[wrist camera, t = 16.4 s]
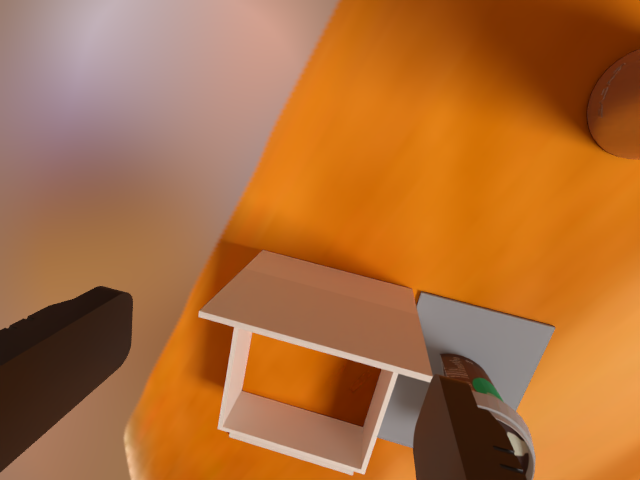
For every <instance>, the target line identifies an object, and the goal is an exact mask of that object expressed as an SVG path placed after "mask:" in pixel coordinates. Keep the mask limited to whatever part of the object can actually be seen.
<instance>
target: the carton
mask: <svg viewBox="0 0 640 480" xmlns="http://www.w3.org/2000/svg"><path fill="white" fill-rule="evenodd" d="M198 317H201V318H204V319H208V320H211V321H215V322H218V323H222V324H225V325H229V326H232V327H234V331H233V337H232V344H231V350H230V356H229V362H228V368H227V374H226V380H225V387H224V393H223V399H222V405H221V411H220V417H219V423H218V429H220V430H223V431H226V432H230V434H229V437H231V438H234V439H237V440H241V441H244V442H247V443H250V444H253V445H257V446H260V447H263V448H266V449H269V450H273V451H276V452H279V453H282V454H285V455H289V456H292V457H295V458H298V459H301V460H305V461H308V462H311V463H314V464H317V465H321V466H324V467H327V468H330V469H333V470H337V471H340V472H343V473H346V474H350V475H353V472H354V471H355V472H358V473H361V474H365V471H366V468H367V465H368V462H369V459H370V456H371V453H372V450H373V447H374V444H375V441H376V438H377V436H378V433H379V430H380V427H381V424H382V421H383V418H384V415H385V412H386V409H387V406H388V403H389V400H390V397H391V394H392V391H393V388H394V385H395V382H396V379H397V376H398V374H402V375H405V376H409V377H412V378H416V379H419V380H423V381H426V382H431V379H432V377H433V375H432V371H431V366H430V362H429V358H428V354H427V349H426V345H425V341H424V337H423V333H422V328H421V324H420V320H419V316H418V312H417V307H416V303H415V299H414V295H413V291H412V289H410V288H407V287H403V286H399V285H395V284H391V283H388V282H384V281H380V280H376V279H372V278H368V277H365V276H361V275H357V274H353V273H349V272H345V271H342V270H338V269H334V268H330V267H326V266H323V265H319V264H315V263H311V262H307V261H303V260H300V259H296V258H292V257H288V256H284V255H281V254H277V253H273V252H269V251H265V250H262V251H261V252H260V253H259V254H258V255H257V256H256V257H255V258H254V259H253V260H252V261H251V262H250V263H249V264H248V265H247V266H246V267H244V268H243V269H242V270H241V271H240V272H239V273H238V274H237V275H236V276H235V277H234V278H233V279H232V280H231V281H230V282H229V283H228V284H227V285H226V286H225V287H224V288H223V289H222V290H220V291H219V292H218V293H217V294H216V295H215V296H214V297H213V298H212V299H211V300H210V301H209V302H208V303H207V304H206V305H205V306H204V307H203V308H202V309H201V310H200V311H199V316H198ZM252 332H253V333H257V334H261V335H264V336H268V337H271V338H275V339H278V340H282V341H285V342H289V343H292V344H296V345H299V346H303V347H306V348H310V349H313V350H317V351H320V352H324V353H328V354H331V355H335V356H338V357H342V358H345V359H349V360H352V361H356V362H359V363H363V364H366V365H370V366H373V367H377V368H380V369H381V373H380V376H379V379H378V382H377V385H376V388H375V391H374V394H373V398H372V401H371V404H370V407H369V410H368V413H367V416H366V419H365V423H364V426H363V427H361V426H358V425H354V424H351V423H348V422H344V421H341V420H338V419H334V418H331V417H328V416H324V415H321V414H318V413H314V412H311V411H308V410H304V409H301V408H298V407H294V406H291V405H288V404H284V403H281V402H277V401H274V400H271V399H267V398H264V397H261V396H257V395H254V394H251V393H247V392H244V391H242V387H243V381H244V376H245V370H246V364H247V359H248V353H249V348H250V342H251V337H252Z"/></svg>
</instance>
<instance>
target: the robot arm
mask: <svg viewBox="0 0 640 480" xmlns="http://www.w3.org/2000/svg"><path fill="white" fill-rule="evenodd" d="M587 120H588V127H589V130H590V132H591V134H592V137H593V138H594V140H595V141H596V142H597V144H598V145H599V146H600V147H602V148H603V149H604V150H605V151H607V152H609V153H611V154H613V155H615V156H618V157H623V158H627V159H640V49H638V50H636V51H634V52H631V53H629V54H627V55H626V56H624V57H623V58H621V59H619V60H618V61H616V62H615V63H614V64H613V65H612V66H611V67H610V68H609V69H608V70H606V72H605V73H604V74H603V75H602V77H601V78H600V79H599V80H598V82H597V84H596V86H595V88H594V89H593V91H592V93H591V97H590V100H589V103H588V111H587ZM132 311H133V299H132V296H131V295H130V294H129V293H127V292H123V291H119V290H114V289H111V288H107V287H103V286H99V287H96V288H94V289H92V290H90V291H88V292H86V293H84V294H82V295H80V296H78V297H76V298H74V299H72V300H68V301H65V302H61V303H57V304H54V305H50V306H48V307H46V308H44V309H42V310H40V311H38V312H36V313H34V314H32V315H30V316H28V318H27V319H22V320H20V321H18V322H16V323H14V324H12V325H10V327H9V328H8V329H7V328H4V329H2V330H0V472H1V471H2V470H4V469H5V468H6V467H7V466H8V465H9V464H10V463H12V461H14V460H15V459H16V458H17V457H18V456H20V454H22V453H23V452H24V451H25V450H26V449H27V448H29V447H30V446H31V445H32V444H33V443H34V442H35V441H37V440H38V439H39V438H40V437H41V436H42V435H43V434H45V433H46V432H47V431H48V430H49V429H50V428H51V427H52V426H54V425H55V424H56V423H57V422H58V421H59V420H60V419H61V418H63V417H64V416H65V415H66V414H67V413H68V412H69V411H71V410H72V409H73V408H74V407H75V406H76V405H77V404H79V403H80V402H81V401H82V400H83V399H84V398H85V397H86V396H87V395H89V394H90V393H91V392H92V391H93V390H94V389H95V388H97V387H98V386H99V385H100V384H101V383H102V382H103V381H105V380H106V379H107V378H108V377H109V376H110V375H111V374H113V373H114V372H115V371H116V370H117V369H118V368H119V367H120V366H121V365H122V364H123V362H124V361H125V359H126V358H127V356H128V353H129V350H130V347H131V336H132ZM413 453H414V462H415V470H416V479H417V480H527V478H526V476H525V475H523V469H522V467H521V464H520V462H519V460H518V458H517V456H515V454H514V453H515V451H514V449H513V446H512V444H511V442H510V440H509V437H508V435H507V433H506V431H505V429H504V428H503V427H502V426H501V425H500V423H499V422H498V421H497V420H496V419H495V418H494V416H493V415H492V414H491V413H490V412H489V410H485V409H482V408H478V406H477V403H476V401H475V398H474V395H473V393H472V390H471V388H470V385H469V384H468V383H467V382H465V381H461V380H457V379H454V378H450V377H446V376H442V375H438V374H435V375H434V376H433V377H432V379H431V382H430V385H429V387H428V390H427V393H426V396H425V399H424V402H423V405H422V408H421V411H420V414H419V416H418V419H417V422H416V426H415V431H414V438H413Z"/></svg>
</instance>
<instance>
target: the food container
mask: <svg viewBox="0 0 640 480" xmlns="http://www.w3.org/2000/svg"><path fill="white" fill-rule="evenodd" d="M440 359H441V365H442V372H443V376H446V377H450V378H454V379H457V380H461V381H465V382H467V383H468V384H469V385H470V388H471V390H472V393H473V395H474V398H475V401H476V403H477V406H478V408H482V409H485V410H489V412H490V413H491V414H492V415H493V416H494V418H495V419H496V420H497V421H498V422H499V423H500V425H501V426H502V427H503V428H504V429H505V431H506V433H507V435H508V437H509V440H510V442H511V444H512V446H513V449H514V451H515V453H514V454H515V456H517V458H518V460H519V462H520V464H521V467H522V469H523V475H525V476H526V478H527V480H533V476H534V472H535V453H534V447H533V443H532V438H531V434H530V432H529V429H528V427H527V425H526V424H525V422H524V421H523V419H522V418H521V417H520V415H519V414H518V413H517V412H516V411H515V410H514V409H512V408H511V407H510V406H508V405H507V404H506V403H504V401H503V400H502V398H501V396H500V395H499V393H498V392H497V390H496V388H495V387H494V385H493V383H492V382H491V380H490V378H489V377H488V375H487V374H486V372H485V371H484V369H483V368H482V367H481V366H480V365H478V364H477V363H476V362H474V361H473V360H471V359H469V358H466V357H464V356H461V355H456V354H448V353H446V354H440Z"/></svg>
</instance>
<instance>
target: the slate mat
mask: <svg viewBox="0 0 640 480" xmlns="http://www.w3.org/2000/svg"><path fill="white" fill-rule="evenodd" d="M416 307H417V312H418V316H419V320H420V324H421V328H422V333H423V337H424V341H425V345H426V349H427V354H428V358H429V362H430V366H431V371H432V375H433V376H434V375H435V374H438V375H442V376H443V372H442V365H441V359H440V354H446V353H448V354H456V355H461V356H464V357H466V358H469V359H471V360H473V361H474V362H476V363H477V364H478V365H480V366H481V367H482V368H483V369H484V371H485V372H486V374H487V375H488V377H489V378H490V380H491V382H492V383H493V385H494V387H495V388H496V390H497V392H498V393H499V395H500V396H501V398H502V400H503V401H504V403H506V404H507V405H508V406H510V407H511V408H512V409H514V410H515V411H516V410H517V408H518V405H519V403H520V401H521V399H522V397H523V395H524V393H525V391H526V389H527V387H528V384H529V382H530V380H531V378H532V376H533V374H534V372H535V370H536V368H537V366H538V363H539V361H540V359H541V357H542V355H543V353H544V351H545V349H546V347H547V345H548V342H549V340H550V338H551V336H552V334H553V332H554V330H555V327H554V326H552V325H548V324H544V323H540V322H537V321H533V320H529V319H525V318H521V317H517V316H514V315H510V314H506V313H502V312H498V311H494V310H491V309H487V308H483V307H479V306H475V305H472V304H468V303H464V302H460V301H456V300H452V299H449V298H445V297H441V296H437V295H433V294H430V293H426V292H422V291H421V294H420V297H419V300H418V303H417V306H416ZM429 385H430V382H426V381H423V380H419V379H416V378H412V377H409V376H405V375H402V374H398V376H397V379H396V382H395V385H394V388H393V391H392V394H391V397H390V400H389V403H388V406H387V409H386V412H385V415H384V418H383V421H382V424H381V427H380V430H379V433H378V436H377V437H378V438H381V439H384V440H388V441H391V442H394V443H398V444H401V445H404V446H408V447H411V448H413V438H414V431H415V426H416V422H417V419H418V416H419V414H420V411H421V408H422V405H423V402H424V399H425V396H426V393H427V390H428V387H429Z"/></svg>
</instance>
